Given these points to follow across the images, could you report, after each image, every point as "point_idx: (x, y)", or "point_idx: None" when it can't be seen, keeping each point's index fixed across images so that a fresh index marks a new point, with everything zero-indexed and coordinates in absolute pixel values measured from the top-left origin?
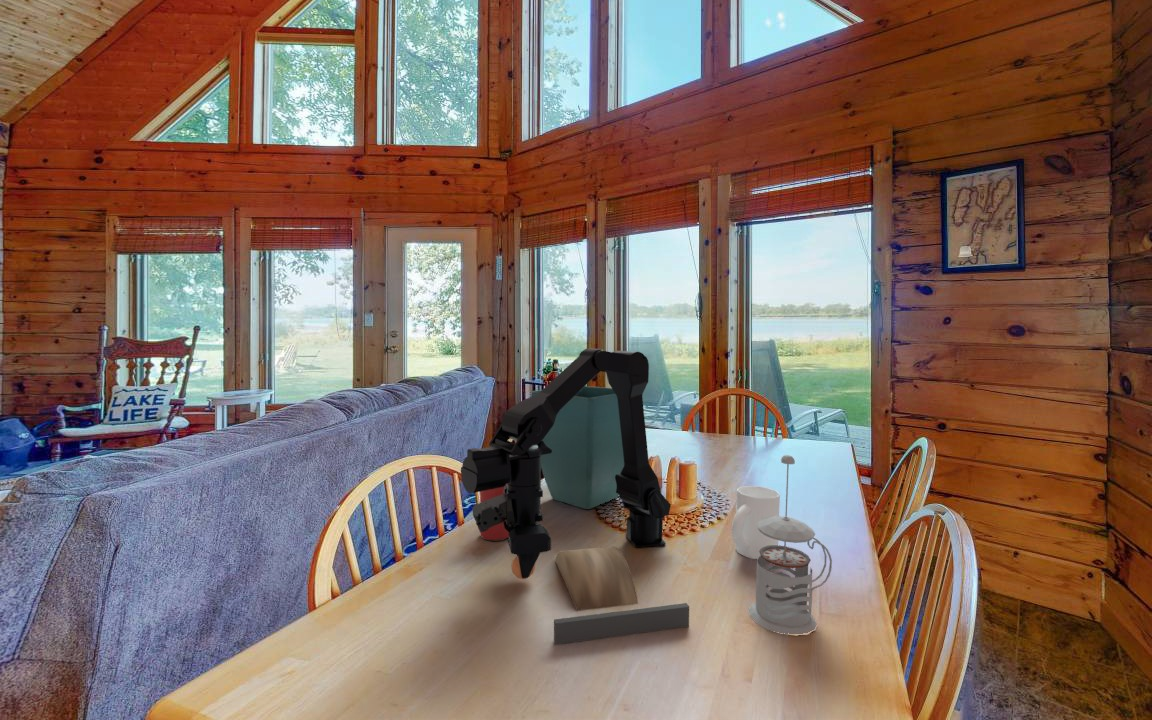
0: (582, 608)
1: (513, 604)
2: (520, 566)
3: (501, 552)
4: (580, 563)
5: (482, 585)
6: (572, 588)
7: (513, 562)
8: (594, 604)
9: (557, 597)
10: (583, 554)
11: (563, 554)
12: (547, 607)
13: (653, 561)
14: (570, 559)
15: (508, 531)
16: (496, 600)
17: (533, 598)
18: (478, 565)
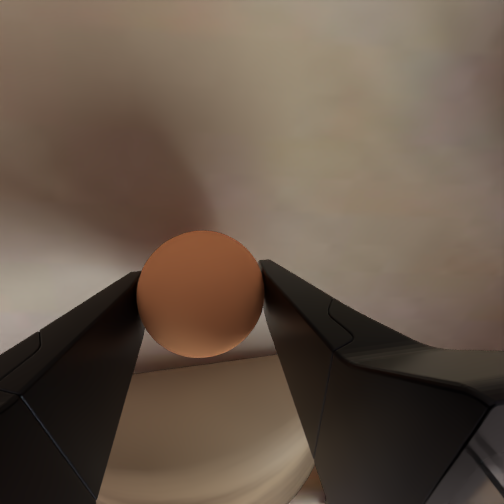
0: None
1: (12, 206)
2: (69, 312)
3: (491, 174)
4: (137, 490)
5: (199, 50)
6: None
7: (185, 261)
8: None
9: None
10: (201, 498)
11: (224, 449)
12: (16, 321)
13: None
14: (160, 476)
15: (395, 379)
16: (36, 125)
17: (78, 282)
18: (428, 39)
